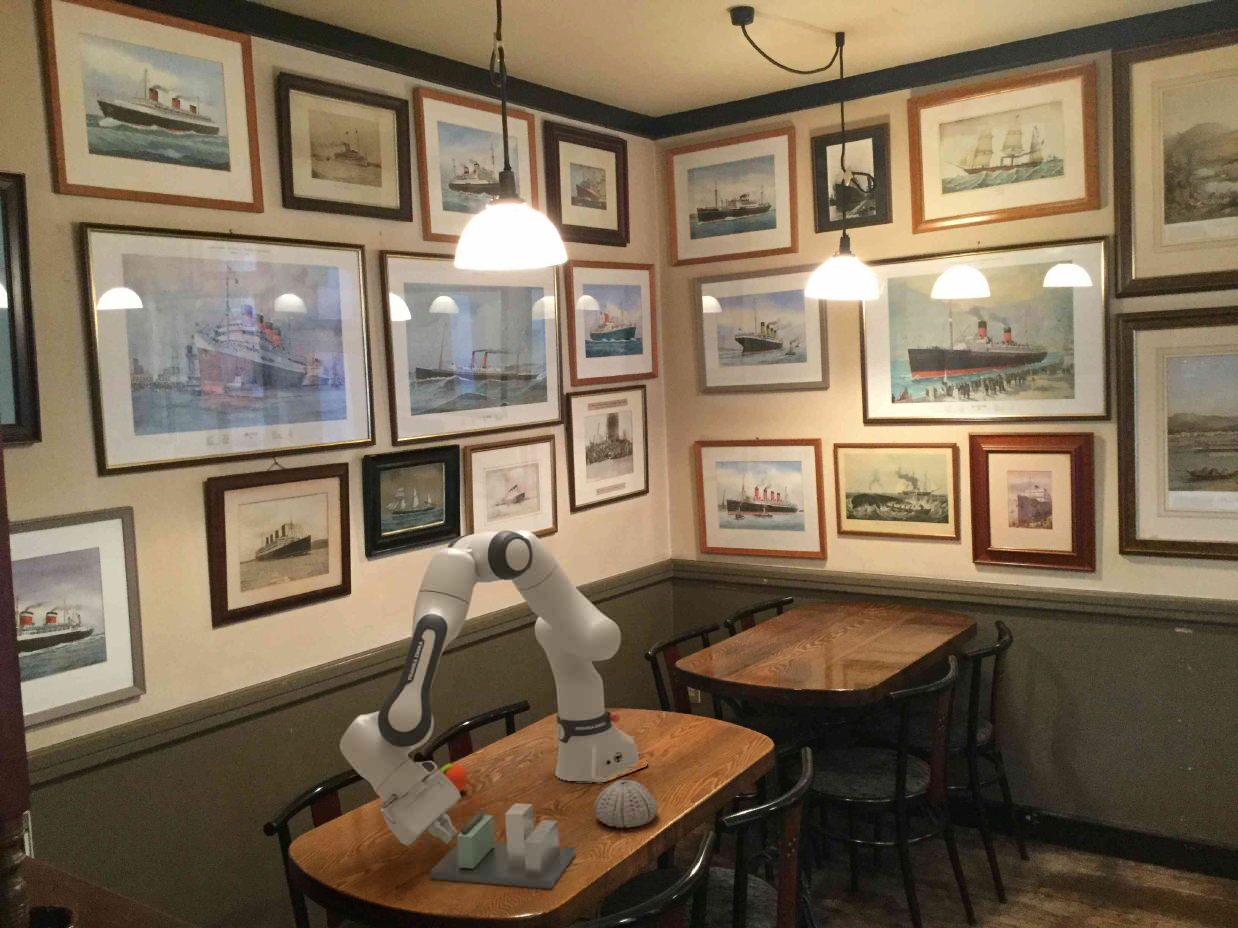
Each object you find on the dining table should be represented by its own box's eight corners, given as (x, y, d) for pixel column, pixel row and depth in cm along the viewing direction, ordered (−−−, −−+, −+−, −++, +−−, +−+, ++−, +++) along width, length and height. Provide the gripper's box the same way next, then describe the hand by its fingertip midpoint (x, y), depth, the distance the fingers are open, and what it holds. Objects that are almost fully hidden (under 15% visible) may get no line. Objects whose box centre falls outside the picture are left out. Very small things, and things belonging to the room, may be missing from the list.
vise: (430, 878, 188) (427, 839, 188) (462, 846, 201) (459, 810, 201) (550, 889, 181) (548, 848, 181) (575, 855, 195) (573, 817, 194)
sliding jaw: (458, 867, 188) (456, 829, 188) (480, 844, 198) (478, 808, 198) (473, 868, 188) (471, 830, 187) (494, 845, 197) (492, 809, 197)
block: (508, 865, 188) (505, 813, 188) (518, 853, 193) (515, 803, 193) (525, 866, 187) (522, 814, 187) (535, 855, 192) (532, 804, 192)
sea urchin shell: (617, 803, 220) (615, 767, 219) (670, 814, 212) (668, 776, 212) (581, 825, 209) (579, 787, 208) (636, 837, 201) (634, 798, 201)
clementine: (451, 802, 225) (449, 771, 225) (428, 797, 229) (426, 767, 228) (474, 790, 232) (472, 760, 231) (452, 785, 235) (450, 756, 235)
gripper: (386, 795, 186) (437, 851, 183) (436, 757, 205) (483, 807, 203) (366, 818, 187) (417, 873, 185) (418, 777, 207) (464, 827, 204)
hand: (452, 838), depth 194 cm, fingers closed
